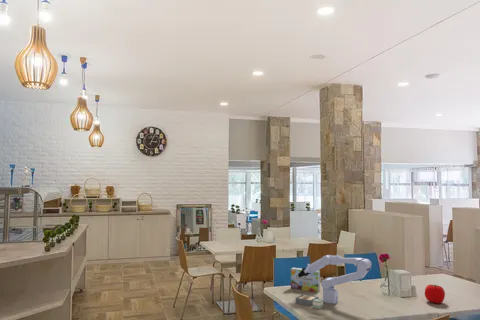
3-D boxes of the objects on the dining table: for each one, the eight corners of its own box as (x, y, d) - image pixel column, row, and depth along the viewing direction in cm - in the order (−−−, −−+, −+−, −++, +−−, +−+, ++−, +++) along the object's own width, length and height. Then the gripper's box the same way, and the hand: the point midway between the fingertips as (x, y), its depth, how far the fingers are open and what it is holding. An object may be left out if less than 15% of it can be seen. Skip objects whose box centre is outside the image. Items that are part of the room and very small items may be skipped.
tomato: (434, 305, 259) (433, 287, 260) (419, 300, 272) (419, 282, 273) (449, 304, 262) (449, 286, 263) (434, 298, 275) (434, 281, 276)
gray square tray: (318, 303, 263) (318, 296, 263) (311, 307, 254) (311, 300, 254) (303, 300, 269) (303, 294, 269) (295, 304, 260) (295, 297, 261)
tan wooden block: (315, 302, 262) (315, 297, 263) (310, 305, 256) (310, 300, 256) (304, 299, 267) (304, 295, 268) (298, 302, 261) (298, 297, 261)
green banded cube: (323, 308, 252) (323, 300, 252) (319, 310, 248) (319, 301, 248) (316, 306, 255) (316, 298, 255) (312, 308, 251) (312, 300, 251)
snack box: (290, 288, 299) (290, 268, 300) (293, 287, 304) (293, 267, 305) (318, 292, 289) (318, 271, 290) (320, 290, 294) (320, 270, 295)
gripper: (318, 259, 278) (303, 267, 284) (308, 262, 267) (293, 271, 273) (323, 268, 276) (308, 277, 282) (314, 272, 264) (298, 281, 270)
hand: (301, 274), depth 277 cm, fingers open, 7 cm apart
